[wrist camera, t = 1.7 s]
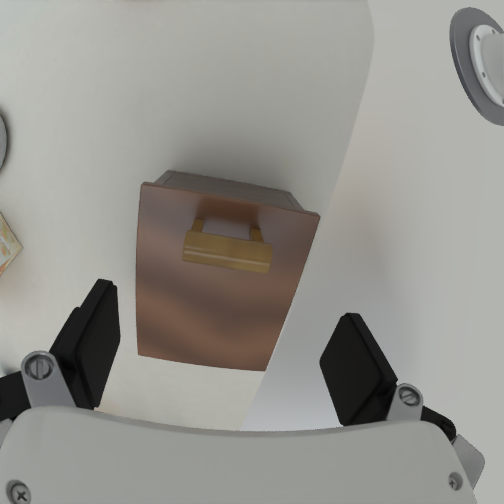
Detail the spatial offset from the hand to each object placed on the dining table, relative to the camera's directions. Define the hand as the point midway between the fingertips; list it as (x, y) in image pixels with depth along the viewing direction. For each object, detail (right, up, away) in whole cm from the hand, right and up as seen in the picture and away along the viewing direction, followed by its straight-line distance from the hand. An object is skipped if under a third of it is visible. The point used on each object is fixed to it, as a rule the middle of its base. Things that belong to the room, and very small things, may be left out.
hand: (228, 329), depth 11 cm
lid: (-2, 0, +12) cm, 12 cm away
